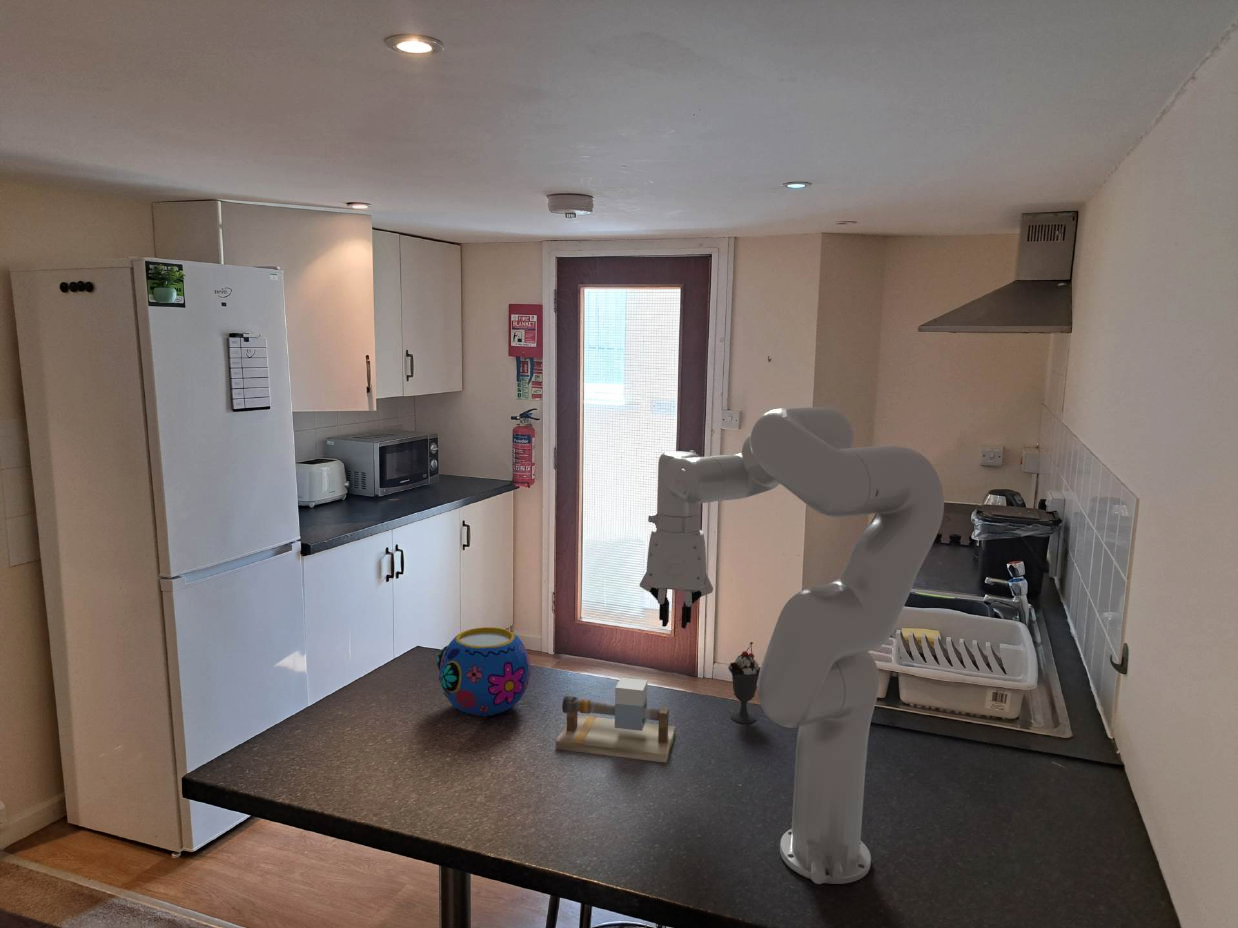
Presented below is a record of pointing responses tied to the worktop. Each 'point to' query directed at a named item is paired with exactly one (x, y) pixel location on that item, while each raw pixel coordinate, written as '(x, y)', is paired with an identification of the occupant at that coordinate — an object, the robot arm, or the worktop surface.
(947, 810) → the worktop surface
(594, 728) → the board
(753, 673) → the sundae
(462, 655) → the ceramic pot
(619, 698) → the sleeve
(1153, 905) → the worktop surface
